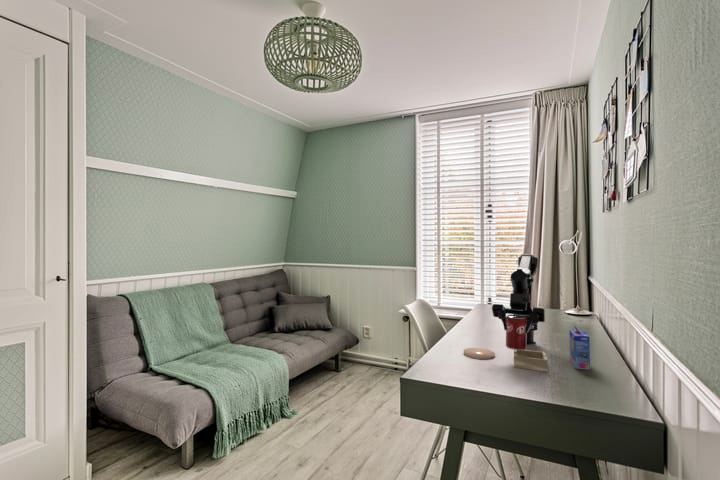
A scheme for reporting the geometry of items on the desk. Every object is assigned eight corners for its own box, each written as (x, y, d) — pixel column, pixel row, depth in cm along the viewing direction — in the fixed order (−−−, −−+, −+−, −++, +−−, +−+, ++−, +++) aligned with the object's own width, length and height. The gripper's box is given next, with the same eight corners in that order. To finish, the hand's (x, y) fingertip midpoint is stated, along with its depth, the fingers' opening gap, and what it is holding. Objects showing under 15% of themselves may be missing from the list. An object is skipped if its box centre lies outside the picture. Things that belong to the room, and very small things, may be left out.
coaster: (482, 349, 164) (482, 347, 164) (501, 357, 153) (501, 355, 153) (457, 351, 160) (457, 349, 160) (474, 360, 149) (474, 357, 149)
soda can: (528, 347, 148) (528, 315, 148) (524, 352, 142) (524, 319, 142) (508, 344, 152) (508, 313, 152) (503, 348, 146) (504, 316, 146)
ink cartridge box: (568, 360, 151) (569, 323, 151) (584, 362, 149) (585, 324, 149) (573, 368, 141) (574, 328, 141) (590, 370, 139) (591, 330, 139)
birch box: (513, 358, 152) (513, 348, 152) (544, 362, 148) (544, 351, 148) (514, 367, 141) (514, 356, 141) (547, 371, 137) (547, 360, 137)
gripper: (493, 283, 154) (487, 316, 145) (544, 286, 145) (542, 321, 136) (496, 300, 161) (490, 332, 152) (545, 304, 152) (543, 339, 143)
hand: (515, 331), depth 145 cm, fingers closed on soda can, 7 cm apart
